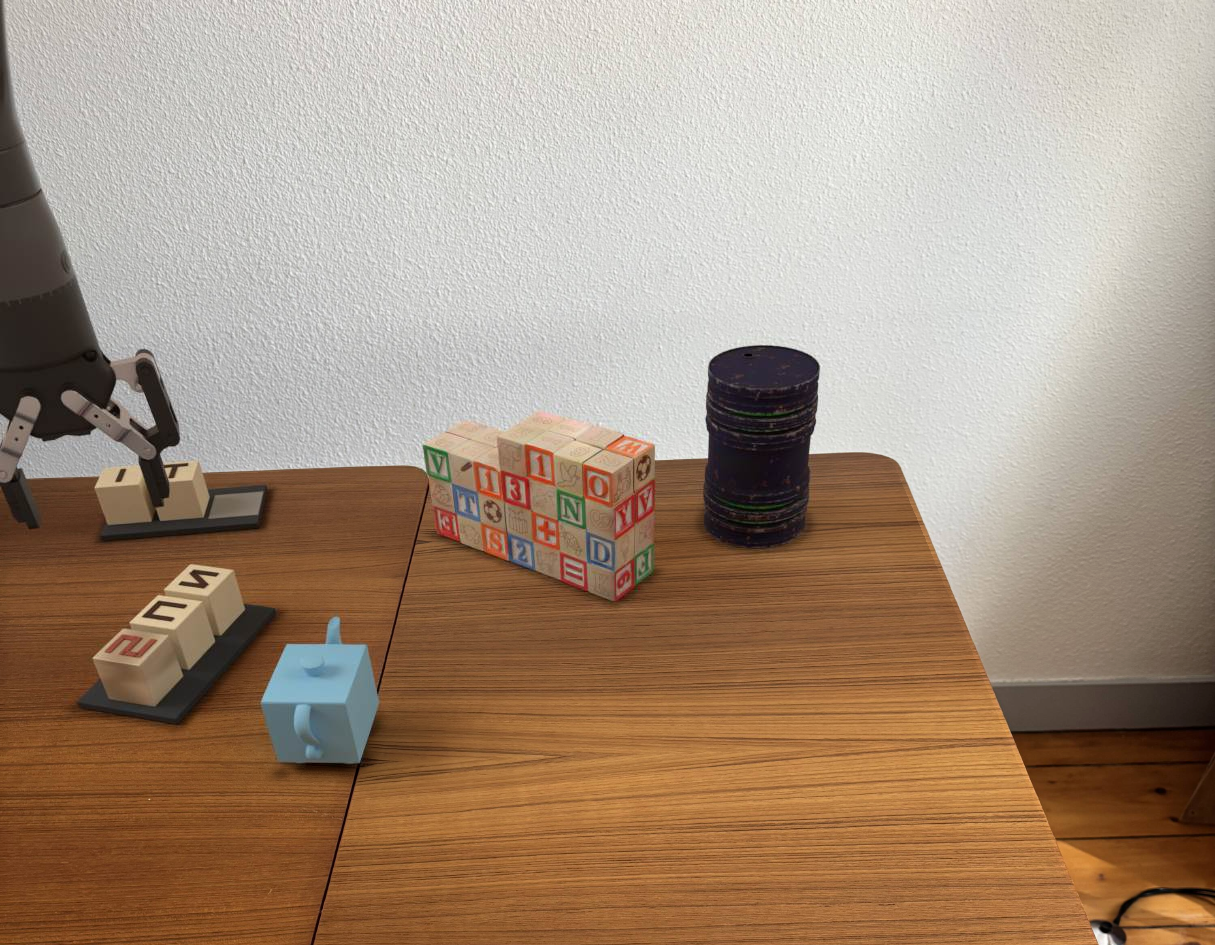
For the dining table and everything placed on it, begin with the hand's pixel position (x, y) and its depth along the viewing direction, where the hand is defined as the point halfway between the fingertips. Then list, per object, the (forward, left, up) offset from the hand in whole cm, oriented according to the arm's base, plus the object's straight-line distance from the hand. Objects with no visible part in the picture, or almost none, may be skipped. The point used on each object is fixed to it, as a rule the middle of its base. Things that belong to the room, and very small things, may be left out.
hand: (97, 513), depth 82 cm
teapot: (+17, -2, -15) cm, 23 cm away
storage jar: (+42, +37, -15) cm, 58 cm away
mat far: (-13, +26, -15) cm, 33 cm away
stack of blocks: (+24, +27, -15) cm, 39 cm away
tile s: (0, -1, -15) cm, 15 cm away
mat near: (0, +4, -15) cm, 16 cm away
